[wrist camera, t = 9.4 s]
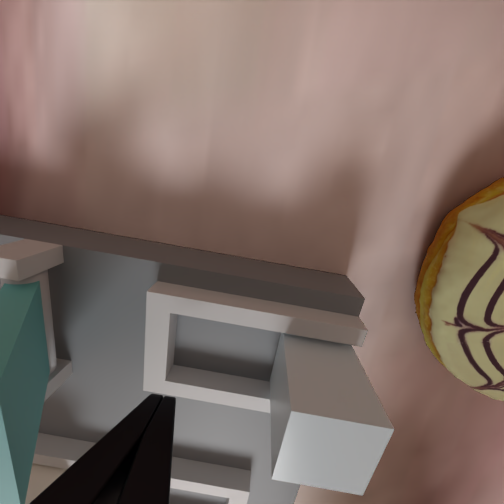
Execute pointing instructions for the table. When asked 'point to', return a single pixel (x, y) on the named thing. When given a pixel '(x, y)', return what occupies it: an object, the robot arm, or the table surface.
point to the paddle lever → (23, 377)
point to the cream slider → (41, 479)
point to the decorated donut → (467, 292)
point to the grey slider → (324, 416)
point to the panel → (173, 348)
